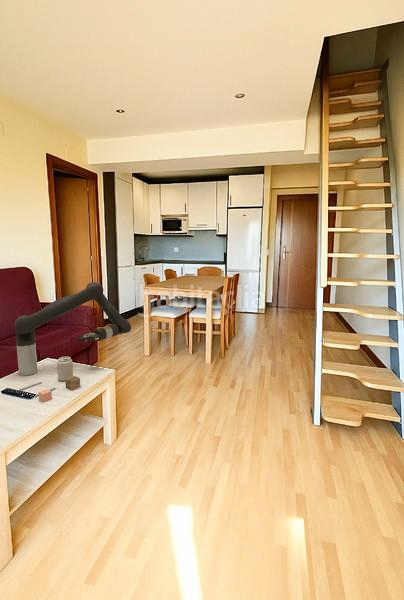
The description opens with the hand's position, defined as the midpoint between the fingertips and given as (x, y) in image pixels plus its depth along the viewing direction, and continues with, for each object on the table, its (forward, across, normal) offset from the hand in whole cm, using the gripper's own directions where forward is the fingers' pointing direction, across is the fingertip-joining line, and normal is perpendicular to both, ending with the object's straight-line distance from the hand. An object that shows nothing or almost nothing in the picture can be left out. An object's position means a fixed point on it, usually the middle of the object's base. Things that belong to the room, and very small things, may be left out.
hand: (78, 340), depth 169 cm
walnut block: (+13, +12, +20) cm, 27 cm away
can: (+9, 0, +20) cm, 22 cm away
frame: (+25, 0, +20) cm, 32 cm away
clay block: (+28, +13, +20) cm, 37 cm away
